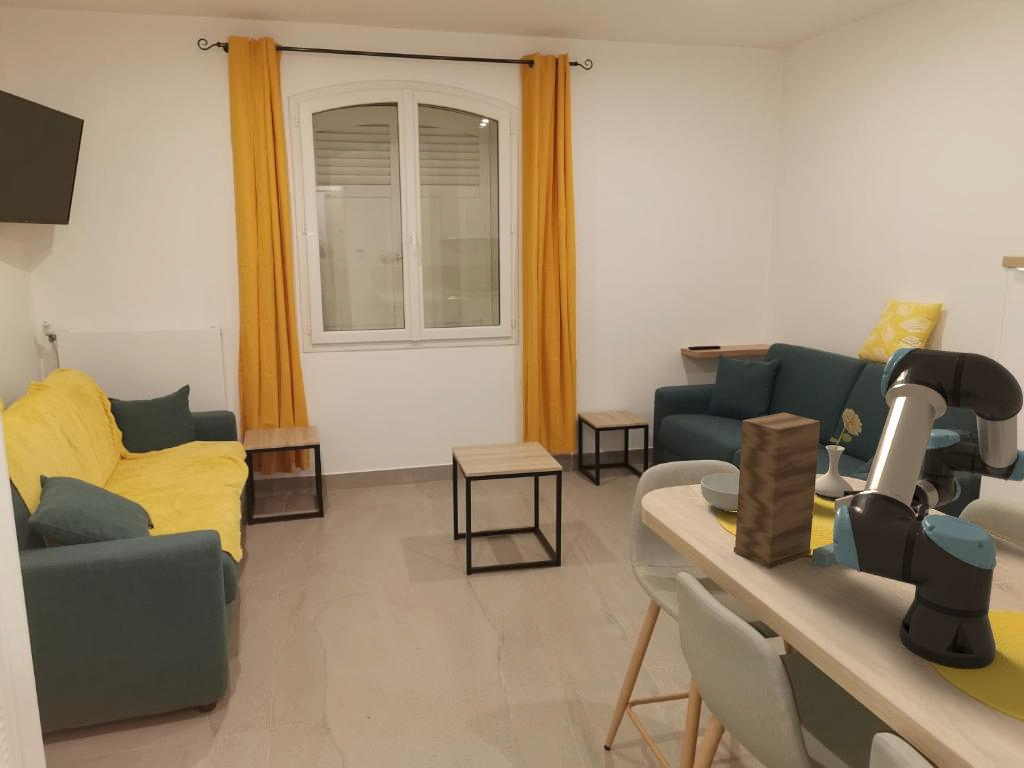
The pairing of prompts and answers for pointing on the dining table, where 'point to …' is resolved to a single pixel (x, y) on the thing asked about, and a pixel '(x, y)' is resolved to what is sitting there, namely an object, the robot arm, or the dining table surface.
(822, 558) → the bar
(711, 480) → the cereal bowl
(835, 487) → the flower in vase
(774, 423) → the pedestal
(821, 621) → the dining table surface
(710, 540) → the dining table surface
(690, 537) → the dining table surface
